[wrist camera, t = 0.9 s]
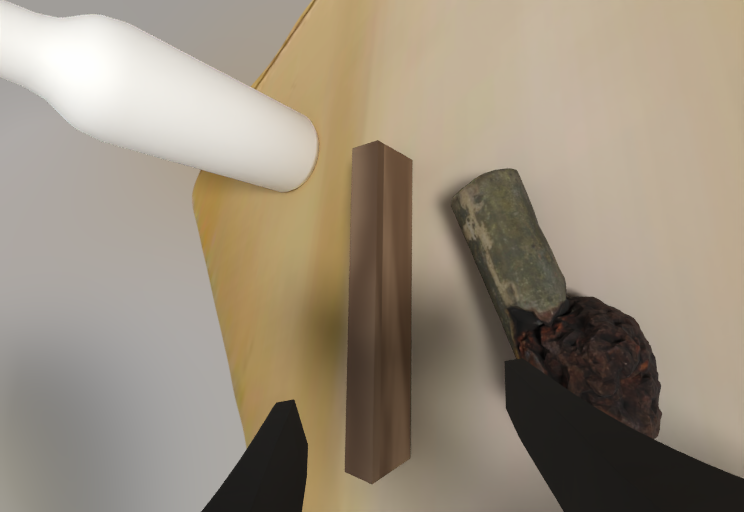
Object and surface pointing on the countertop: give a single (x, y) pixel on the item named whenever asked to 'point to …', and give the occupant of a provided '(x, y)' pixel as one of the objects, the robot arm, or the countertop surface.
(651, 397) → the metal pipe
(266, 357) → the countertop surface
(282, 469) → the robot arm
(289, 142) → the alcohol
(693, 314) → the countertop surface
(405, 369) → the brown wooden plank
